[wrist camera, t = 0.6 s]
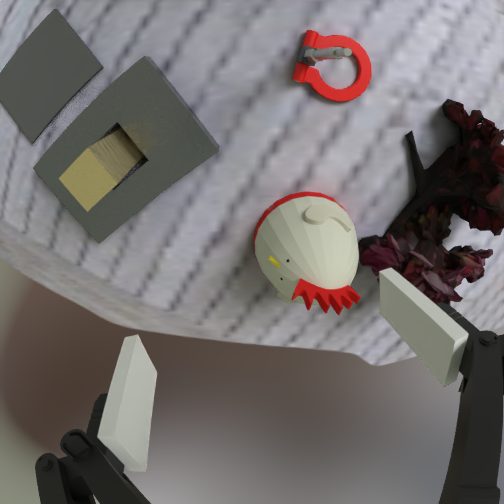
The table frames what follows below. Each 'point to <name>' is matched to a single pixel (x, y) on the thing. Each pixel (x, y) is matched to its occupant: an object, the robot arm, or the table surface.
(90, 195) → the brass plug
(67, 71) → the rubber mat
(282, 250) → the kitchen timer
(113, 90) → the socket plate
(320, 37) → the tow hook
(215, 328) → the table surface
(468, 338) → the robot arm
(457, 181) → the flower arrangement
